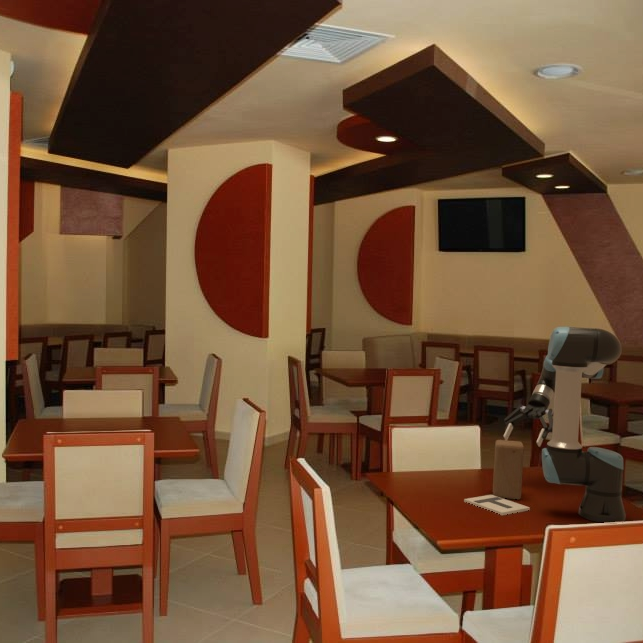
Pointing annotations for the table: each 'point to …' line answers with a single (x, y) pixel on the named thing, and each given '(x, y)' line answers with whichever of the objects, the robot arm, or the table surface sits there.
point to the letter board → (497, 504)
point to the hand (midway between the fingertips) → (521, 441)
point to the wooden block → (508, 469)
